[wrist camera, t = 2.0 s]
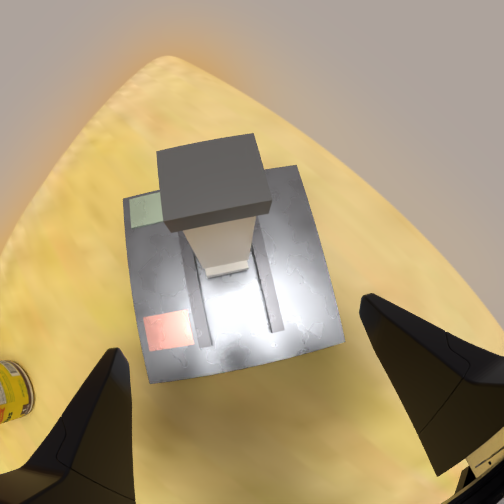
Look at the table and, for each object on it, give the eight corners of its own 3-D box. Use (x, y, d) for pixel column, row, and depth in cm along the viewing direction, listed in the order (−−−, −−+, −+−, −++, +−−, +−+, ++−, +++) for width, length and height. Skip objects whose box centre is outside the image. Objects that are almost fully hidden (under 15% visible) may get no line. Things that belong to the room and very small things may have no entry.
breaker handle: (253, 268, 20) (273, 202, 9) (201, 279, 20) (163, 224, 9) (244, 227, 21) (253, 131, 10) (194, 237, 20) (156, 149, 10)
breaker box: (336, 340, 21) (350, 342, 18) (157, 379, 20) (145, 386, 17) (292, 176, 25) (298, 158, 22) (130, 208, 23) (118, 193, 20)
